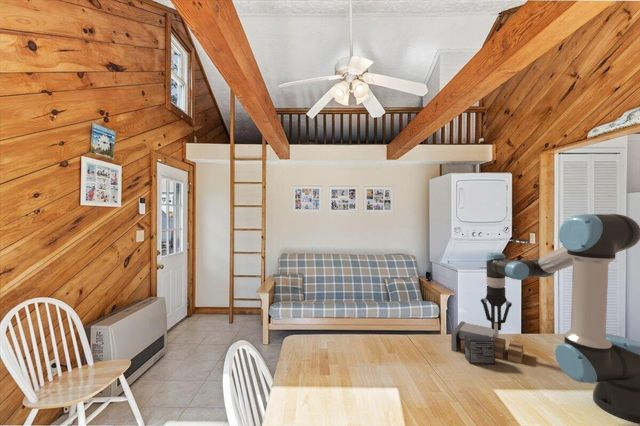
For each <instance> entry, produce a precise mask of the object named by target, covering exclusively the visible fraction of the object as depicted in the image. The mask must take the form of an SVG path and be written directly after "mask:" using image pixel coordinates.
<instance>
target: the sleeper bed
mask: <svg viewBox="0 0 640 426" xmlns="http://www.w3.org/2000/svg"><path fill="white" fill-rule="evenodd" d="M506 349H507V361H509V362H512V363H513V362H514V363H519V364H522V361H523V358H524V343H523V342H519V341H514V340H510V341H509V344H508V347H507V343H506V339H505V338H501V337H498V338H496V340H495V342H494V351H495V358H496V359H497V358H498V359H501V360H504V359H503V358H504V356H505V353H506Z"/></svg>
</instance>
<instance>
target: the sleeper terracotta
mask: <svg viewBox="0 0 640 426" xmlns="http://www.w3.org/2000/svg"><path fill="white" fill-rule="evenodd" d="M460 349H461V350H465V339H461V345H460Z"/></svg>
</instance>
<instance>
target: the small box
mask: <svg viewBox="0 0 640 426" xmlns="http://www.w3.org/2000/svg"><path fill="white" fill-rule="evenodd" d="M464 358H465V360H466V361H467V362H468V363H469V364H470V365H490V366H491V365H494V366H495V365H496V360H495V359H496V357H495V351H494V340H493V339H492V338H491V337H489V336H488V335H465V349H464Z"/></svg>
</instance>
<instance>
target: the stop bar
mask: <svg viewBox="0 0 640 426" xmlns="http://www.w3.org/2000/svg"><path fill="white" fill-rule="evenodd" d="M465 323H466V321H460V322H459V324H458V325H457V326H455V328H454V329H453V331H452V332H451V334H450V335H451V337H450V338H451V339H450V340H451V341H450V343H451V351H453V352H457V350H458V349H459V348H460V347H461V339H460V338H459V330H460V329H461V327H462V326H463V325H464V324H465Z"/></svg>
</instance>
